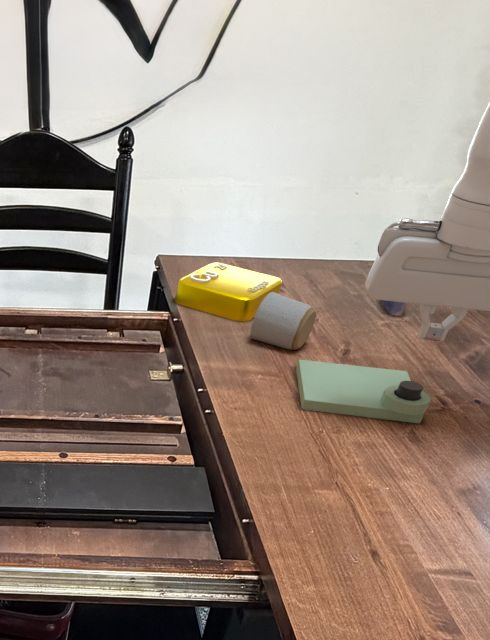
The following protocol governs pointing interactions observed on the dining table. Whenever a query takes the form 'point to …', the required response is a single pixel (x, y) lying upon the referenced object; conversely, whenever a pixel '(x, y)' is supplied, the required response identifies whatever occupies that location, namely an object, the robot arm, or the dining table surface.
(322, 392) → the green base with knob
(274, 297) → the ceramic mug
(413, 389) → the button
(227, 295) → the element tile
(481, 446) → the dining table surface
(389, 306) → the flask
